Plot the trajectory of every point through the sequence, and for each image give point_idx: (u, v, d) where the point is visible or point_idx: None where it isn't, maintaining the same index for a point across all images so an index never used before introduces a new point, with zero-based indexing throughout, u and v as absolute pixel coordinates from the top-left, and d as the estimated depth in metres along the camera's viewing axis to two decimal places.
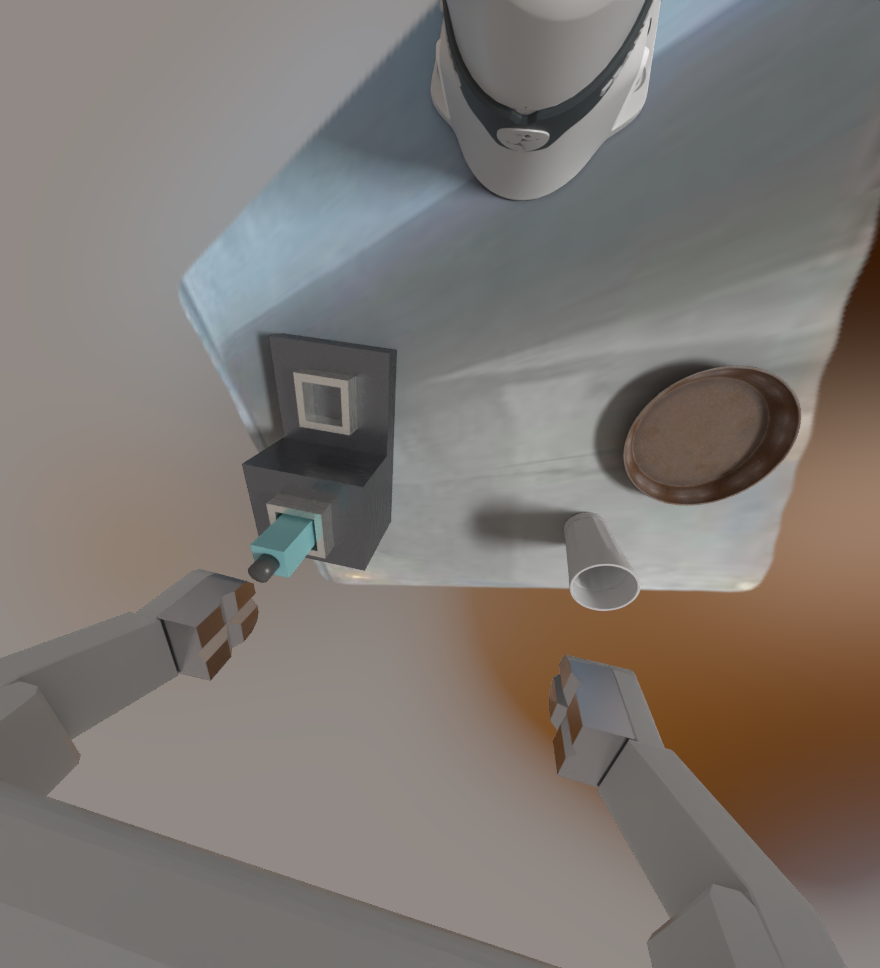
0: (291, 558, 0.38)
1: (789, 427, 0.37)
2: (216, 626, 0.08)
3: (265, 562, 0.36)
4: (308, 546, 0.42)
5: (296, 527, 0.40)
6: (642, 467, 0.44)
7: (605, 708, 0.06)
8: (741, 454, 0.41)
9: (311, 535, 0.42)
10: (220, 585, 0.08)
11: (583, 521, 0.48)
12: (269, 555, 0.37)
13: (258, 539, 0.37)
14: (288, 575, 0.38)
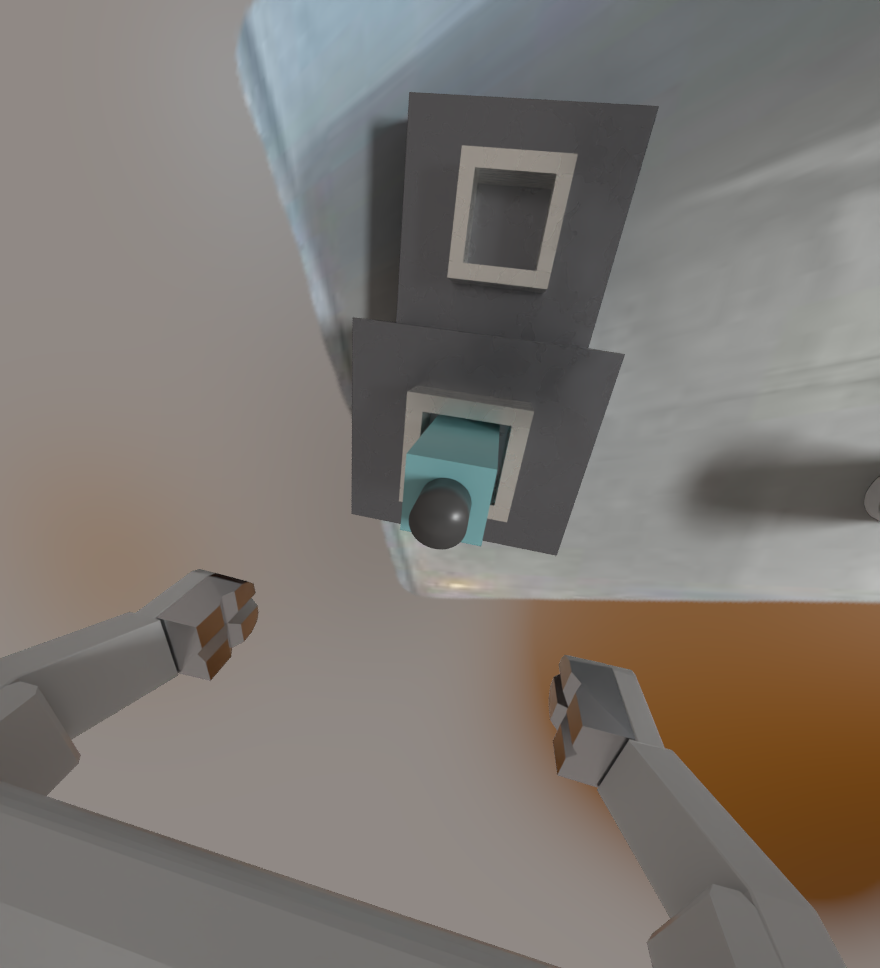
0: None
1: None
2: (216, 626, 0.08)
3: (455, 493, 0.14)
4: None
5: (482, 438, 0.18)
6: None
7: (605, 708, 0.06)
8: None
9: None
10: (220, 585, 0.08)
11: None
12: (453, 481, 0.14)
13: (418, 447, 0.15)
14: (481, 540, 0.16)
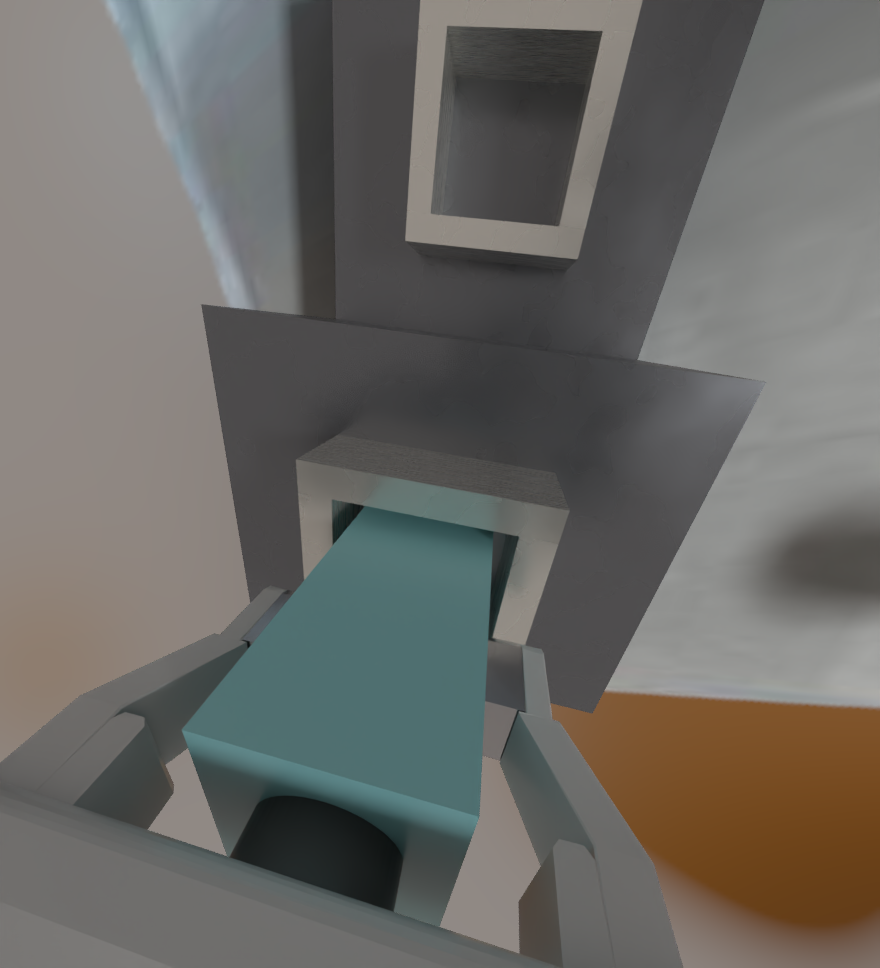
0: None
1: None
2: None
3: None
4: None
5: (452, 576, 0.08)
6: None
7: (503, 684, 0.07)
8: None
9: None
10: None
11: None
12: (337, 823, 0.04)
13: (251, 670, 0.05)
14: None
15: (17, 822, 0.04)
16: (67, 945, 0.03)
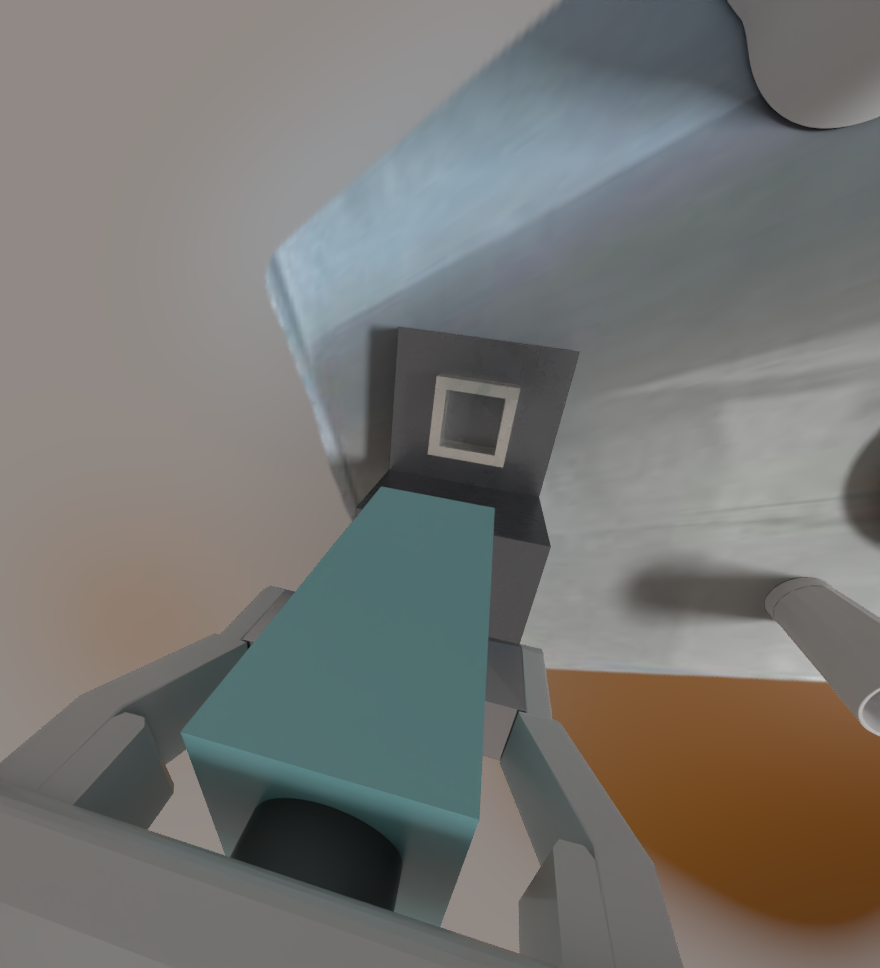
0: None
1: None
2: None
3: None
4: None
5: (452, 577, 0.08)
6: None
7: (503, 683, 0.07)
8: None
9: None
10: None
11: (815, 592, 0.34)
12: (336, 826, 0.04)
13: (250, 671, 0.05)
14: None
15: (17, 822, 0.04)
16: (67, 945, 0.03)
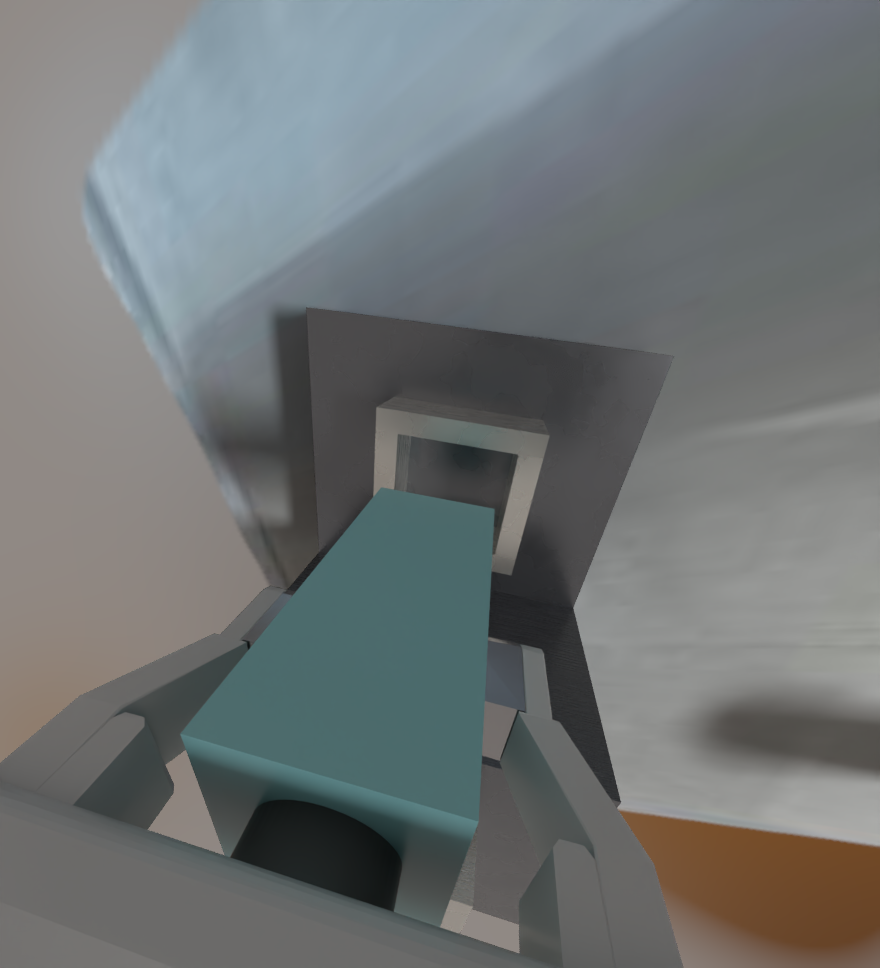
0: None
1: None
2: None
3: None
4: None
5: (451, 578, 0.08)
6: None
7: (503, 683, 0.07)
8: None
9: None
10: None
11: None
12: (336, 828, 0.04)
13: (250, 673, 0.05)
14: None
15: (18, 822, 0.04)
16: (68, 945, 0.03)
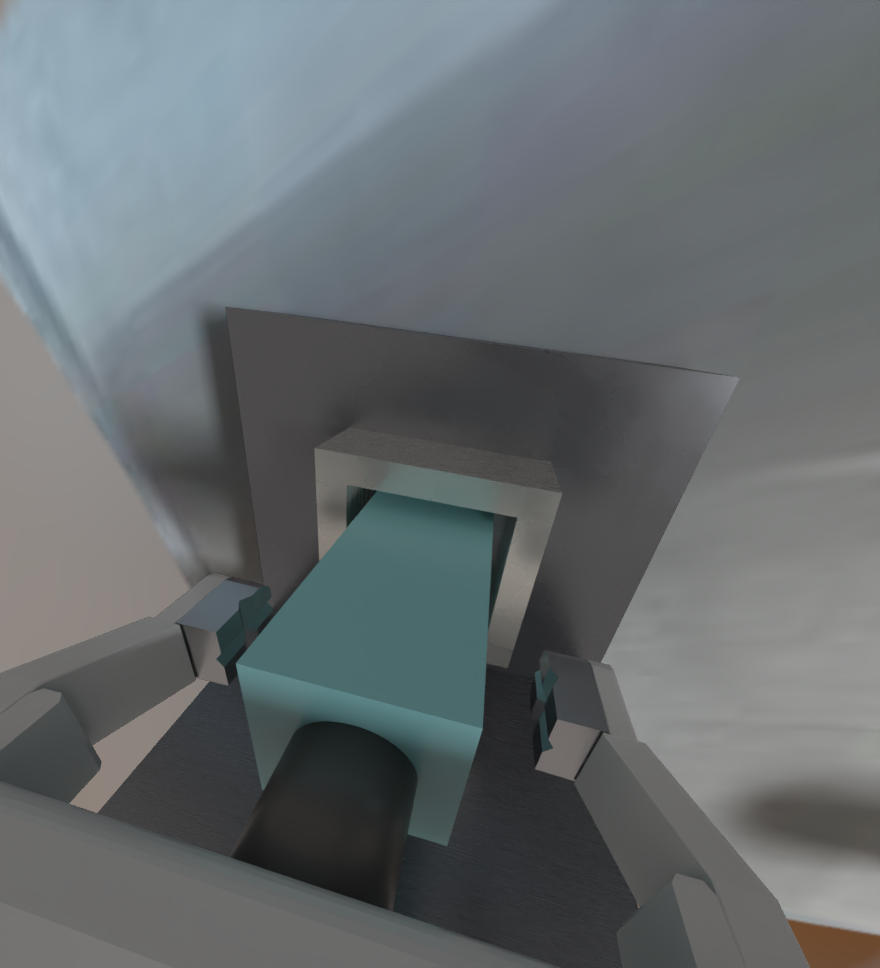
0: None
1: None
2: (234, 631, 0.08)
3: (350, 830, 0.04)
4: None
5: (457, 552, 0.09)
6: None
7: (581, 702, 0.07)
8: None
9: None
10: (237, 589, 0.08)
11: None
12: (364, 741, 0.05)
13: (287, 621, 0.06)
14: None
15: (17, 822, 0.04)
16: (67, 945, 0.03)
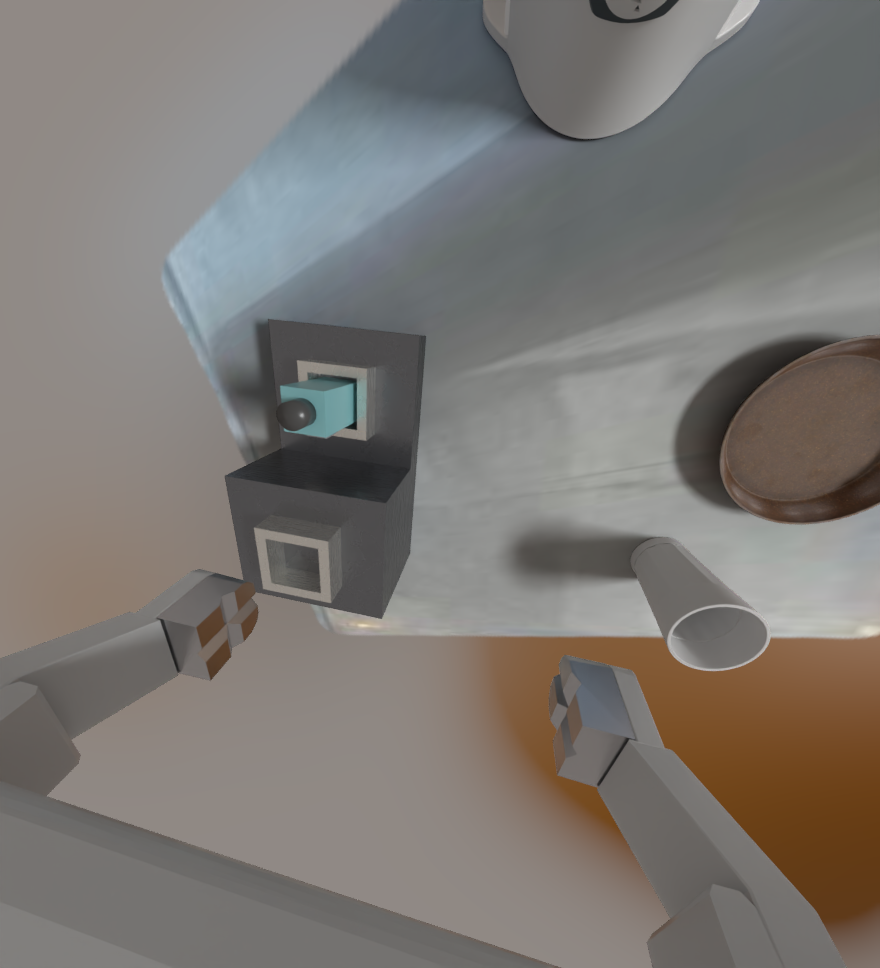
0: (330, 412, 0.29)
1: None
2: (216, 626, 0.08)
3: (300, 402, 0.27)
4: (347, 416, 0.33)
5: (336, 384, 0.31)
6: (737, 476, 0.35)
7: (605, 708, 0.06)
8: (871, 457, 0.32)
9: (351, 405, 0.34)
10: (220, 585, 0.08)
11: (661, 548, 0.37)
12: (304, 399, 0.28)
13: (289, 384, 0.29)
14: (326, 434, 0.29)
15: (17, 822, 0.04)
16: (68, 945, 0.03)
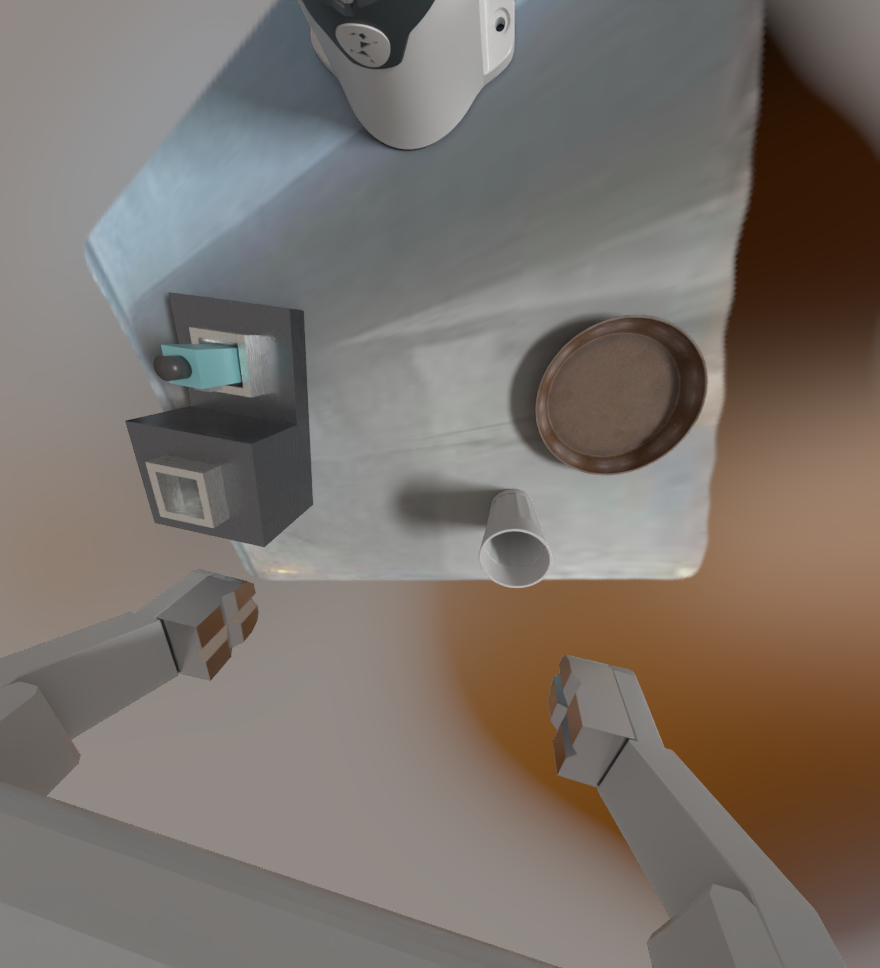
0: (206, 368, 0.36)
1: (698, 384, 0.36)
2: (216, 626, 0.08)
3: (173, 357, 0.34)
4: (231, 375, 0.40)
5: (217, 347, 0.38)
6: (560, 435, 0.42)
7: (605, 708, 0.06)
8: (658, 419, 0.39)
9: (236, 367, 0.40)
10: (220, 585, 0.08)
11: (505, 496, 0.44)
12: (180, 356, 0.35)
13: (171, 344, 0.36)
14: (201, 386, 0.36)
15: (17, 822, 0.04)
16: (68, 945, 0.03)
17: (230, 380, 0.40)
